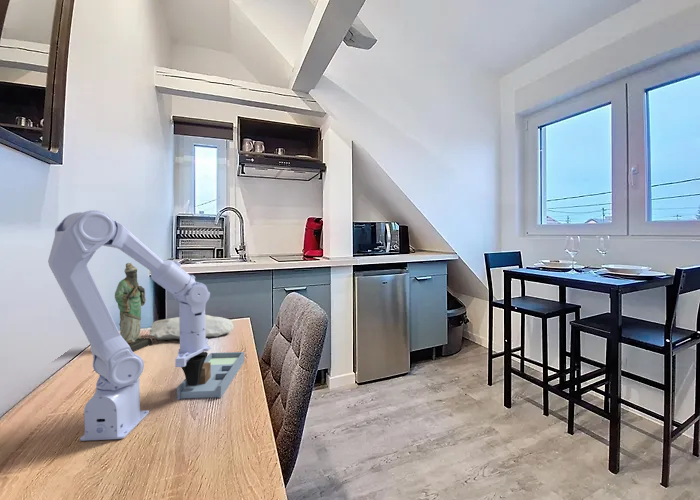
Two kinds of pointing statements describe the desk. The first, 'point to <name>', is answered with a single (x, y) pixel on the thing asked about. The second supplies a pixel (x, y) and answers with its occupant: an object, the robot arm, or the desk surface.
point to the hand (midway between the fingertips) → (193, 384)
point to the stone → (171, 327)
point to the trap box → (214, 376)
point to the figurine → (131, 309)
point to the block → (205, 373)
